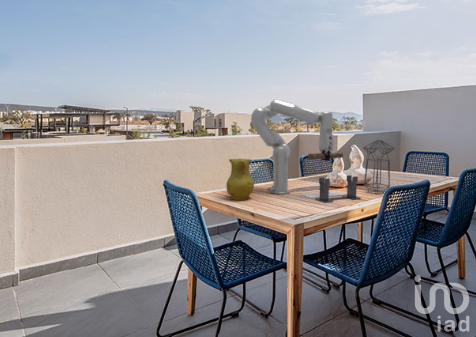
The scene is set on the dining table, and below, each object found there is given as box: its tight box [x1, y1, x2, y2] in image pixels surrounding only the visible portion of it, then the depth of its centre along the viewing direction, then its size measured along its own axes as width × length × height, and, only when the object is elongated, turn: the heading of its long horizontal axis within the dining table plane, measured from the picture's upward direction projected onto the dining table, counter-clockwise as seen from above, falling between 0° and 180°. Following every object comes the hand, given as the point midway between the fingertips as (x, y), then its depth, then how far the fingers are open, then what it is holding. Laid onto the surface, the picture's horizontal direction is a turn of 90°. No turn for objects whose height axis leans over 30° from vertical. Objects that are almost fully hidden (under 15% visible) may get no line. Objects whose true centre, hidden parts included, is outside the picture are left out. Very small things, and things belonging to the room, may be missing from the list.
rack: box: [314, 174, 362, 204], centre depth 216 cm, size 26×10×14 cm, turn 111°
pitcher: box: [225, 158, 255, 201], centre depth 222 cm, size 17×19×25 cm
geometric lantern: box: [362, 139, 396, 195], centre depth 234 cm, size 16×16×35 cm
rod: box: [307, 151, 344, 160], centre depth 227 cm, size 24×4×4 cm, turn 111°
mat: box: [300, 190, 347, 199], centre depth 230 cm, size 28×12×1 cm, turn 111°
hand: (325, 160), depth 227 cm, fingers closed on rod, 3 cm apart
